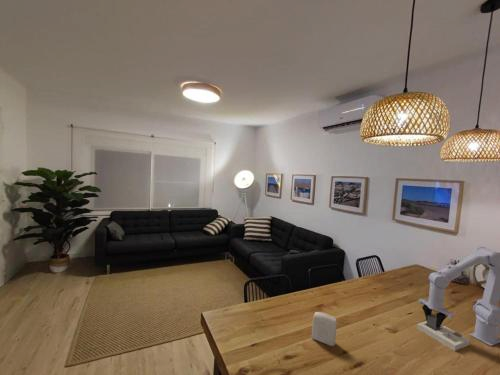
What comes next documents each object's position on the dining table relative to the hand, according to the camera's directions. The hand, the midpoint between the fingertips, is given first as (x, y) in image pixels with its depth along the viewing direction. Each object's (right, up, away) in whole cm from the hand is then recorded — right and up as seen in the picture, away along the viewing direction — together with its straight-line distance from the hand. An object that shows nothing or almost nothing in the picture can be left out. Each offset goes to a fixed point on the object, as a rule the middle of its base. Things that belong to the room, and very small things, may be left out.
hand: (433, 323), depth 117 cm
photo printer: (-59, -1, -11) cm, 60 cm away
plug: (0, -3, 0) cm, 3 cm away
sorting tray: (+2, -4, -3) cm, 6 cm away
